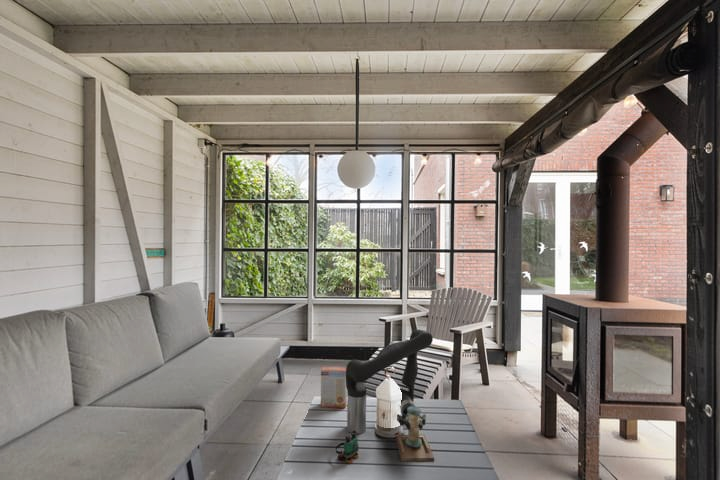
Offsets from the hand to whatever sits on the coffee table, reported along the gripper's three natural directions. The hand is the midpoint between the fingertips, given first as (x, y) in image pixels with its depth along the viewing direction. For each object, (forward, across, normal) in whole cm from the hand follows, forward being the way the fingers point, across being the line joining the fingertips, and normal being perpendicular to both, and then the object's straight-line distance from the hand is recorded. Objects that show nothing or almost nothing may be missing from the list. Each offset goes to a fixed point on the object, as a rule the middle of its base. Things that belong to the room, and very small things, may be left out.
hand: (414, 427), depth 172 cm
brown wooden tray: (-3, 0, +11) cm, 11 cm away
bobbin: (-3, 0, +8) cm, 9 cm away
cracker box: (-49, -37, +11) cm, 62 cm away
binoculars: (+4, -30, +11) cm, 32 cm away
